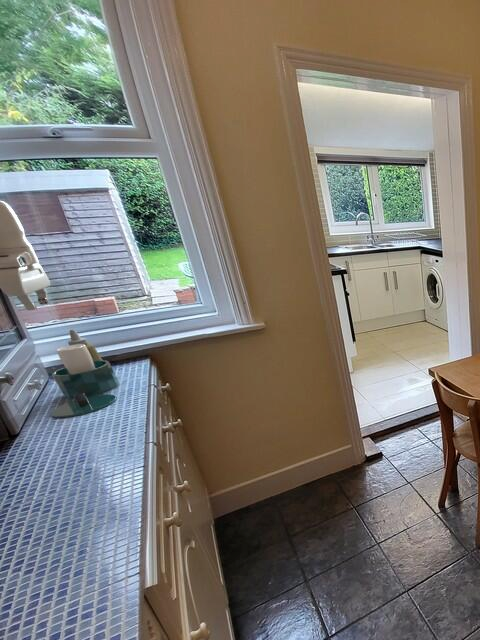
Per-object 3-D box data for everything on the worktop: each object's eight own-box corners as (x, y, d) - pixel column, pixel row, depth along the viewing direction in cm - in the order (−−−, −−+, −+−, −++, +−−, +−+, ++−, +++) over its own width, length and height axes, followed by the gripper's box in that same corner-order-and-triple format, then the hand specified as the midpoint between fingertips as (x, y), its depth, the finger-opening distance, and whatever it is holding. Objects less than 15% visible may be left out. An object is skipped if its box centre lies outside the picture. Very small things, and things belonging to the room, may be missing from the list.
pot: (58, 404, 128) (44, 379, 125) (73, 389, 139) (60, 366, 135) (114, 393, 134) (102, 369, 131) (124, 380, 145) (113, 357, 141)
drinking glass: (86, 395, 132) (63, 351, 126) (73, 393, 134) (50, 350, 128) (111, 386, 138) (90, 344, 132) (98, 384, 140) (77, 343, 134)
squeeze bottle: (111, 371, 153) (88, 325, 146) (109, 377, 147) (86, 329, 140) (81, 377, 148) (56, 330, 141) (79, 384, 143) (53, 334, 135)
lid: (44, 424, 116) (35, 410, 114) (62, 405, 127) (55, 391, 125) (110, 410, 122) (103, 396, 120) (122, 393, 134) (116, 380, 132)
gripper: (15, 256, 123) (38, 302, 129) (-20, 263, 107) (8, 315, 113) (44, 254, 126) (65, 299, 132) (14, 260, 110) (39, 311, 116)
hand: (38, 306), depth 122 cm, fingers open, 8 cm apart
